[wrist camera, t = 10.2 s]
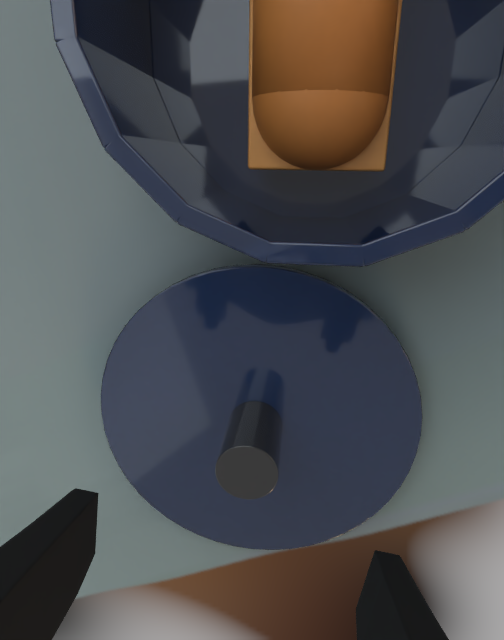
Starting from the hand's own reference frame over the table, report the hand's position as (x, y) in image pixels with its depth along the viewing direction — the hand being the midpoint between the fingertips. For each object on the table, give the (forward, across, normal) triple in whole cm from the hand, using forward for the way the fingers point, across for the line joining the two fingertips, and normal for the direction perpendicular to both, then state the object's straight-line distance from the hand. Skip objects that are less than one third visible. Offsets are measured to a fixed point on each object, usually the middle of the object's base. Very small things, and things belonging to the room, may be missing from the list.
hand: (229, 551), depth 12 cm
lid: (+9, 0, +2) cm, 9 cm away
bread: (+9, 0, -14) cm, 16 cm away
